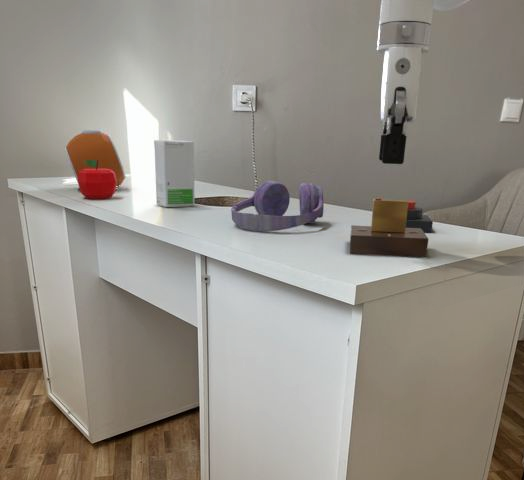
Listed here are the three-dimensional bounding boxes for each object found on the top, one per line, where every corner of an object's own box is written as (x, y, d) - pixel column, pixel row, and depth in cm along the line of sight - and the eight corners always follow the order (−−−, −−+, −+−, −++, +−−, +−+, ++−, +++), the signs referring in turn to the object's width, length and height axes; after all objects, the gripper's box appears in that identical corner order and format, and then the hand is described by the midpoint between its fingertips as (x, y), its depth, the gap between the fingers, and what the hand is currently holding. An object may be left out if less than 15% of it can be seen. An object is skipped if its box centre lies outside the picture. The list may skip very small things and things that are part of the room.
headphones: (261, 212, 128) (216, 238, 113) (259, 175, 124) (212, 198, 108) (336, 218, 120) (299, 248, 105) (337, 180, 116) (298, 205, 101)
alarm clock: (129, 191, 169) (125, 130, 163) (68, 192, 164) (62, 129, 158) (123, 185, 186) (119, 130, 180) (68, 186, 181) (62, 129, 175)
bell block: (425, 225, 118) (428, 206, 117) (431, 232, 110) (434, 212, 109) (378, 223, 120) (379, 204, 118) (380, 230, 111) (382, 210, 110)
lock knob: (404, 231, 93) (407, 198, 91) (405, 232, 91) (408, 199, 89) (370, 229, 93) (373, 197, 91) (371, 231, 92) (374, 198, 90)
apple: (113, 195, 160) (110, 158, 157) (123, 199, 152) (120, 160, 148) (75, 196, 156) (71, 158, 152) (83, 200, 147) (79, 160, 143)
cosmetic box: (165, 208, 137) (162, 140, 131) (155, 204, 142) (152, 139, 136) (196, 206, 141) (194, 140, 135) (185, 203, 146) (183, 140, 140)
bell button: (413, 209, 115) (414, 200, 114) (415, 211, 112) (416, 202, 111) (396, 208, 115) (396, 200, 115) (397, 210, 112) (398, 202, 111)
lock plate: (419, 245, 97) (421, 227, 96) (426, 257, 88) (428, 237, 87) (349, 242, 99) (351, 224, 98) (349, 253, 90) (351, 234, 88)
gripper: (437, 30, 74) (420, 166, 80) (422, 48, 90) (409, 160, 96) (380, 30, 75) (367, 164, 81) (375, 48, 91) (365, 159, 97)
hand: (390, 162), depth 89 cm, fingers open, 9 cm apart
